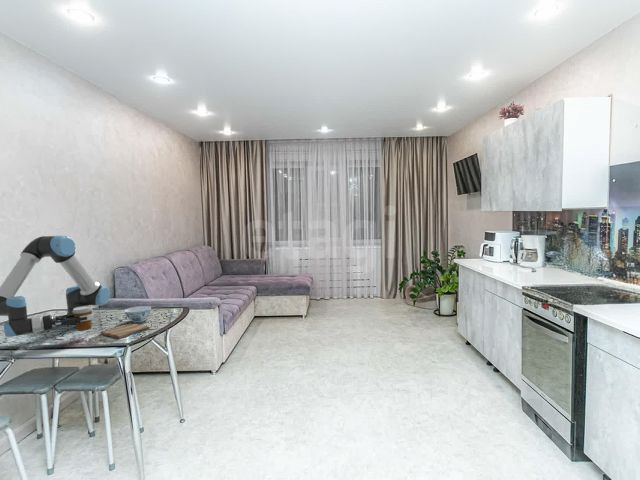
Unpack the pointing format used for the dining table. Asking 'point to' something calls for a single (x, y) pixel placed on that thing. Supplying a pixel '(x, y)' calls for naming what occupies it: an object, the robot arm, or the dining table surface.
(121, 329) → the walnut board
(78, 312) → the disposable coffee cup
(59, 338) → the dining table surface
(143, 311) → the chinaware
